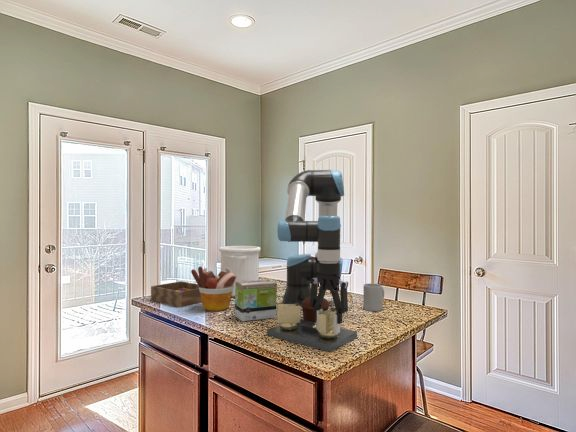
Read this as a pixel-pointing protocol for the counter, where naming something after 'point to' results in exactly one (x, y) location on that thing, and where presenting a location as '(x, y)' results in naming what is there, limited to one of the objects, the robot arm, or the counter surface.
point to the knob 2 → (326, 324)
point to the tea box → (255, 300)
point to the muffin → (312, 309)
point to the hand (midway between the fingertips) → (328, 330)
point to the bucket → (241, 262)
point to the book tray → (176, 294)
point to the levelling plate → (312, 336)
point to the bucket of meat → (215, 288)
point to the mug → (373, 297)
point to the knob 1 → (288, 315)
